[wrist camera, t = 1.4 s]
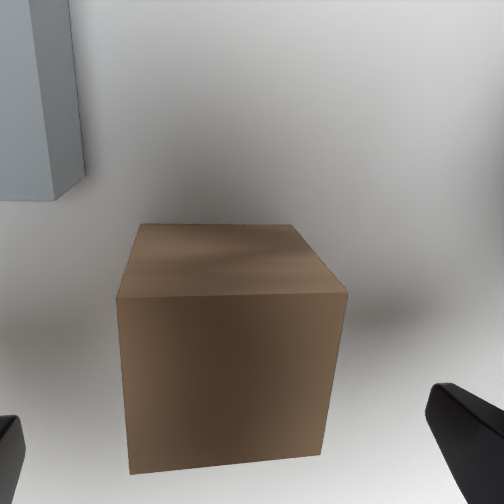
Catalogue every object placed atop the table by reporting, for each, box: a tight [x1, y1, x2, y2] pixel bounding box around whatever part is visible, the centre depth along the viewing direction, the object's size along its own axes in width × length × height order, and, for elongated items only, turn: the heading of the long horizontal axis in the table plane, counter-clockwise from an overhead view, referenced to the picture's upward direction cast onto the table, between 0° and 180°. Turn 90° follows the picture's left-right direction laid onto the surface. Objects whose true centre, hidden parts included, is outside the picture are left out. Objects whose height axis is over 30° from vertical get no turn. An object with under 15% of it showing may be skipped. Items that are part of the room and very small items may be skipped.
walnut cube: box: [116, 224, 348, 475], centre depth 11 cm, size 5×5×5 cm
